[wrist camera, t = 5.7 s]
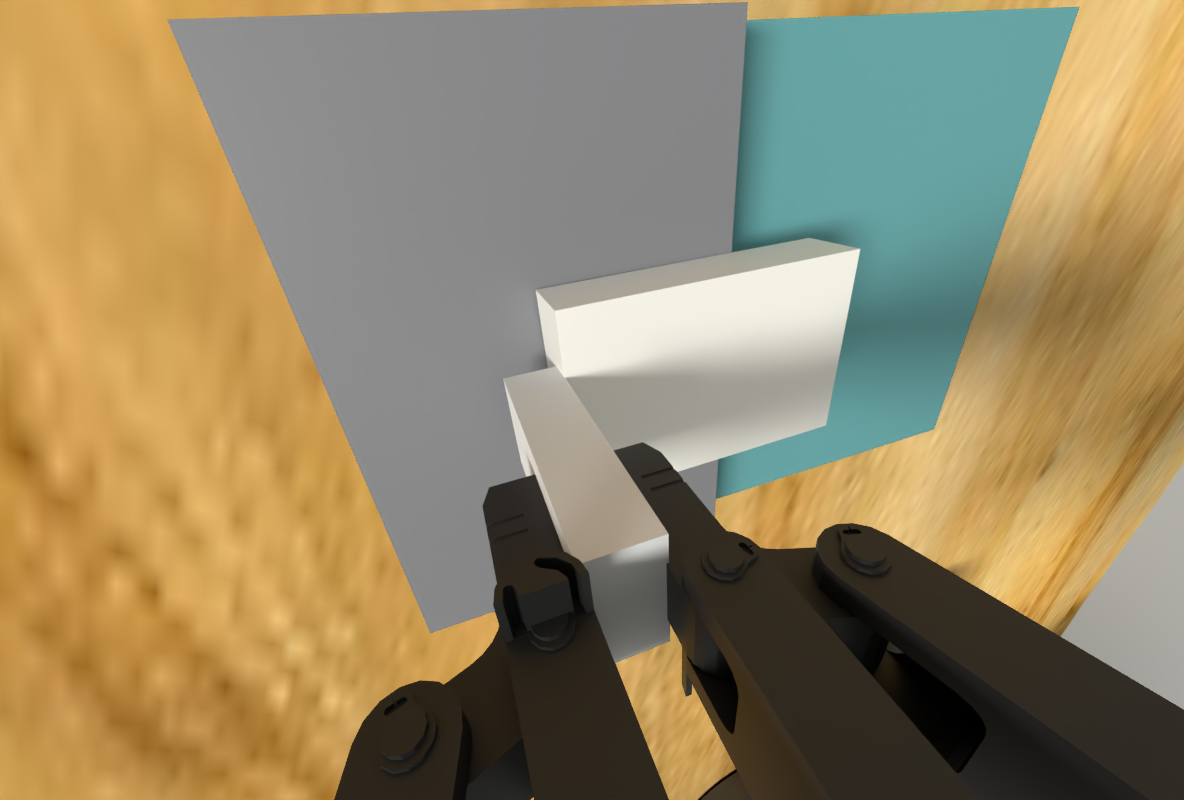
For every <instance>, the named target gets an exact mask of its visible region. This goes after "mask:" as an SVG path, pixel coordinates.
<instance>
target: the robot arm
mask: <svg viewBox="0 0 1184 800" xmlns="http://www.w3.org/2000/svg"><path fill="white" fill-rule="evenodd" d="M503 380H504V385H505V389H506V394H507V399H508V403H509V408H510V413H511V417H512V422H513V427H514V431H515V436H516V440H517V445H518V450H519V454H520V459H521V463H522V466H523V468H524V471H525V474H526V477H524V478H520V479H517V480H513V481H509V482H506V483H502V484H499V485H495V486H492V487H489V489H488V492H487V495H486V497H485V500H484V503H483V506H482V507H483V512H484V518H485V523H486V527H487V533H488V539H489V543H490V549H491V555H492V560H493V565H494V571H495V576H496V581H497V585H496V586H495V588H494V601H493V606H494V610H495V613H496V616H497V619H498V622H499V629H498V632H497V634H496V636H495V638H494V640H493V642H492V643H491V644H490V646H489V647H488V648H487V650H486V651H485V652H484V654H483V655H482V656H480V657H479V658H478V659H477V660H476V661H475V662H474V663H473V664H471V665H470V666H469V667H468V668H466V669H465V670H463V671H462V672H461V673H459V674H458V675H457V676H455V677H454V678H453V679H451V680H450V681H449V682H447V683H446V684H444V685H443V684H441V683H440V682H435V681H417V682H414V683H411V684H408V685H405V686H402V687H400V688H398V689H397V690H395V691H394V692H393V693H391V694H390V695H388V696H387V697H385V698H384V699H383V700H381V701H380V702H379V703H378V704H377V706H376V707H375V708H374V709H373V710H372V711H371V713H370V714H369V715H368V716H367V717H366V719H365V720H364V721H363V723H362V725H361V727H360V729H359V731H358V733H357V735H356V737H355V739H354V741H353V743H352V746H351V749H350V752H349V755H348V758H347V761H346V765H345V768H344V771H343V774H342V777H341V780H340V784H339V787H338V790H337V793H336V796H335V799H334V800H531V799H532V798H533V797H534V800H669V799H668V797H667V794H666V791H665V789H664V786H663V784H662V781H661V779H660V776H659V774H658V771H657V769H656V766H655V763H654V761H653V758H652V756H651V753H650V751H649V748H648V746H647V743H646V741H645V738H644V735H643V733H642V730H641V728H640V725H639V723H638V720H637V718H636V715H635V713H634V710H633V707H632V705H631V702H630V700H629V697H628V695H627V692H626V690H625V687H624V685H623V682H622V679H621V677H620V674H619V672H618V669H617V667H616V664H615V663H616V662H619V661H621V660H624V659H627V658H629V657H632V656H634V655H637V654H639V653H642V652H644V651H647V650H649V649H652V648H654V647H657V646H659V645H662V644H664V643H667V642H669V641H670V624H671V626H672V628H673V630H674V632H675V634H676V636H677V637H678V639H679V641H680V643H681V645H682V685H683V688H684V692H685V695H686V697H687V696H689V695H691V694H692V684H693V686H694V688H695V690H696V692H697V694H698V696H699V698H700V700H701V702H702V704H703V706H704V708H705V710H706V711H707V713H708V715H709V717H710V719H711V721H712V723H713V725H714V727H715V729H716V731H717V733H718V735H719V737H720V739H721V740H722V742H723V744H724V746H725V748H726V750H727V752H728V754H729V756H730V758H731V760H732V762H733V764H734V766H735V768H736V769H737V772H736V773H734V774H733V775H731V776H730V777H728V778H727V779H725V780H724V781H723V782H721V783H720V784H719V785H717V786H716V787H715V788H713V789H712V790H711V791H710V792H709V793H708V794H706V795H705V796H704V797H703V798H702V799H701V800H1184V710H1183V709H1182V708H1180V707H1178V706H1176V705H1175V704H1173V703H1171V702H1170V701H1168V700H1166V699H1165V698H1163V697H1161V696H1160V695H1158V694H1156V693H1154V692H1153V691H1151V690H1149V689H1148V688H1146V687H1144V686H1143V685H1141V684H1139V683H1138V682H1136V681H1134V680H1132V679H1131V678H1129V677H1128V676H1126V675H1124V674H1122V673H1121V672H1119V671H1117V670H1116V669H1114V668H1112V667H1111V666H1109V665H1107V664H1106V663H1104V662H1102V661H1100V660H1099V659H1097V658H1095V657H1094V656H1092V655H1090V654H1088V653H1087V652H1085V651H1083V650H1082V649H1080V648H1078V647H1077V646H1075V645H1073V644H1072V643H1070V642H1068V641H1066V640H1065V639H1063V638H1062V637H1060V636H1058V635H1056V634H1055V633H1053V632H1051V631H1050V630H1048V629H1046V628H1045V627H1043V626H1041V625H1040V624H1038V623H1036V622H1035V621H1033V620H1031V619H1029V618H1028V617H1026V616H1024V615H1023V614H1021V613H1019V612H1018V611H1016V610H1014V609H1013V608H1011V607H1009V606H1007V605H1006V604H1004V603H1002V602H1001V601H999V600H997V599H996V598H994V597H992V596H991V595H989V594H987V593H985V592H984V591H982V590H980V589H979V588H977V587H975V586H974V585H972V584H970V583H969V582H967V581H965V580H963V579H962V578H960V577H958V576H957V575H955V574H953V573H952V572H950V571H948V570H947V569H945V568H943V567H942V566H940V565H938V564H936V563H935V562H933V561H931V560H930V559H928V558H926V557H925V556H923V555H921V554H920V553H918V552H916V551H914V550H913V549H911V548H909V547H908V546H906V545H904V544H903V543H901V542H899V541H898V540H896V539H894V538H892V537H891V536H889V535H887V534H885V533H883V532H880V531H878V530H876V529H874V528H872V527H868V526H863V525H858V524H853V523H851V524H836V525H834V526H831V527H829V528H827V529H824V531H823V532H822V533H821V535H820V536H819V537H818V539H817V544H816V548H795V549H764V548H760V547H759V546H758V545H756V544H755V543H754V542H753V541H752V540H750V539H749V538H747V537H744V536H742V535H739V534H737V533H735V532H728V531H726V530H725V529H724V528H723V527H722V526H721V525H720V523H719V522H718V521H717V520H716V518H715V517H714V516H713V515H712V514H711V512H710V511H709V510H708V509H707V507H706V506H705V505H704V504H703V503H702V501H701V500H700V499H699V498H698V496H697V495H696V494H695V493H694V492H693V490H692V489H691V488H690V487H689V485H688V484H687V483H686V482H684V481H683V478H682V477H681V476H680V474H679V473H678V472H677V471H676V470H674V469H673V466H672V465H671V463H670V462H669V461H668V460H667V459H666V457H665V456H664V455H663V454H662V452H660V451H658V450H656V449H655V448H653V447H651V446H649V445H647V444H645V443H643V442H642V443H638V444H634V445H631V446H627V447H624V448H620V449H617V450H613V449H612V448H611V446H610V445H609V443H608V442H607V440H606V439H605V437H604V436H603V434H602V433H601V431H600V430H599V428H598V427H597V425H596V424H595V422H594V421H593V419H592V418H591V416H590V415H589V413H588V412H587V410H586V409H585V407H584V406H583V404H582V402H581V401H580V399H579V398H578V396H577V395H576V393H575V392H574V390H573V389H572V387H571V386H570V384H569V383H568V381H567V380H566V378H564V377H563V375H562V374H561V373H560V371H559V370H558V368H557V367H552V368H547V369H543V370H538V371H534V372H530V373H525V374H521V375H517V376H512V377H508V378H504V379H503Z"/></svg>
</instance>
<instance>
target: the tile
mask: <svg viewBox="0 0 1184 800" xmlns="http://www.w3.org/2000/svg"><path fill="white" fill-rule="evenodd" d="M859 253H860V249H859V248H855V247H850V246H845V245H841V244H836V243H831V242H827V241H822V240H817V239H813V238H806V239H800V240H795V241H790V242H785V243H779V244H774V245H769V246H763V247H758V248H753V249H748V250H742V251H737V252H732V253H727V254H721V255H716V256H711V257H706V258H700V259H695V260H690V261H684V262H679V263H674V264H669V265H663V266H658V267H653V268H648V269H642V270H637V271H632V272H627V273H621V274H616V275H611V276H605V277H600V278H595V279H590V280H584V281H579V282H574V283H569V284H563V285H558V286H553V287H547V288H542V289H537V290H536V296H537V302H538V308H539V315H540V321H541V327H542V334H543V340H544V346H545V353H546V359H547V365H548V368H552V367H557V368H558V370H559V371H560V373H561V374H562V375H563V377H564V378H566V380H567V381H568V383H569V384H570V386H571V387H572V389H573V390H574V392H575V393H576V395H577V396H578V398H579V399H580V401H581V402H582V404H583V406H584V407H585V409H586V410H587V412H588V413H589V415H590V416H591V418H592V419H593V421H594V422H595V424H596V425H597V427H598V428H599V430H600V431H601V433H602V434H603V436H604V437H605V439H606V440H607V442H608V443H609V445H610V446H611V448H612V449H613V450H617V449H620V448H624V447H627V446H631V445H634V444H638V443H642V442H643V443H645V444H647V445H649V446H651V447H653V448H655V449H656V450H658V451H660V452H662V454H663V455H664V456H665V457H666V459H667V460H668V461H669V462H670V463H671V465H672V466H673V469H674V470H676V471H677V472H679V471H682V470H685V469H688V468H692V467H695V466H698V465H701V464H704V463H708V462H711V461H714V460H717V459H720V458H724V457H727V456H730V455H733V454H736V453H740V452H743V451H746V450H749V449H752V448H756V447H759V446H762V445H765V444H768V443H772V442H775V441H778V440H781V439H784V438H788V437H791V436H794V435H797V434H800V433H804V432H807V431H810V430H813V429H817V428H820V427H823V426H826V423H827V418H828V413H829V407H830V402H831V397H832V392H833V387H834V382H835V377H836V371H837V366H838V361H839V356H840V351H841V346H842V341H843V336H844V330H845V325H846V320H847V315H848V310H849V305H850V300H851V294H852V289H853V284H854V279H855V274H856V269H857V264H858V259H859Z"/></svg>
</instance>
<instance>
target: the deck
mask: <svg viewBox="0 0 1184 800" xmlns="http://www.w3.org/2000/svg"><path fill="white" fill-rule="evenodd" d="M747 5H748V2H741V3H707V4H673V5H640V6H606V7H572V8H539V9H505V10H471V11H438V12H404V13H370V14H337V15H303V16H269V17H236V18H202V19H168V22H169V24H170V27H171V29H172V31H173V34H174V36H175V38H176V41H177V43H178V45H179V48H180V50H181V52H182V55H183V57H184V59H185V62H186V64H187V66H188V69H189V71H190V73H191V76H192V78H193V80H194V83H195V85H196V87H197V90H198V92H199V94H200V97H201V99H202V101H203V104H204V106H205V108H206V111H207V113H208V115H209V118H210V120H211V122H212V125H213V127H214V129H215V132H216V134H217V136H218V139H219V141H220V143H221V146H222V148H223V150H224V153H225V155H226V157H227V160H228V162H229V164H230V167H231V169H232V171H233V174H234V176H235V178H236V181H237V183H238V185H239V188H240V190H241V192H242V195H243V197H244V199H245V202H246V204H247V206H248V209H249V211H250V213H251V216H252V218H253V220H254V223H255V225H256V227H257V230H258V232H259V234H260V237H261V239H262V241H263V244H264V246H265V248H266V251H267V253H268V255H269V258H270V260H271V262H272V265H273V267H274V269H275V272H276V274H277V276H278V279H279V281H280V283H281V286H282V288H283V290H284V293H285V295H286V297H287V300H288V302H289V304H290V307H291V309H292V311H293V314H294V316H295V318H296V321H297V323H298V325H299V328H300V330H301V332H302V335H303V337H304V339H305V342H306V344H307V346H308V349H309V351H310V353H311V356H312V358H313V360H314V363H315V365H316V367H317V370H318V372H319V374H320V377H321V379H322V381H323V384H324V386H325V388H326V391H327V393H328V395H329V398H330V400H331V402H332V405H333V407H334V409H335V412H336V414H337V416H338V419H339V421H340V423H341V426H342V428H343V430H344V433H345V435H346V437H347V440H348V442H349V444H350V447H351V449H352V451H353V454H354V456H355V458H356V461H357V463H358V465H359V468H360V470H361V472H362V474H363V477H364V479H365V481H366V484H367V486H368V488H369V491H370V493H371V495H372V498H373V500H374V502H375V505H376V507H377V509H378V512H379V514H380V516H381V519H382V521H383V523H384V526H385V528H386V530H387V533H388V535H389V537H390V540H391V542H392V544H393V547H394V549H395V551H396V554H397V556H398V558H399V561H400V563H401V565H402V568H403V570H404V572H405V575H406V577H407V579H408V582H409V584H410V586H411V589H412V591H413V593H414V596H415V598H416V600H417V603H418V605H419V607H420V610H421V612H422V614H423V617H424V619H425V621H426V624H427V626H428V628H429V631H430V633H433V632H436V631H439V630H441V629H444V628H447V627H450V626H453V625H456V624H459V623H462V622H465V621H468V620H471V619H474V618H477V617H480V616H482V615H485V614H488V613H491V612H494V611H495V610H494V606H493V601H494V588H495V586H496V585H497V581H496V576H495V571H494V565H493V560H492V555H491V549H490V543H489V539H488V533H487V527H486V523H485V518H484V512H483V507H482V506H483V503H484V500H485V497H486V495H487V492H488V489H489V487H492V486H495V485H499V484H502V483H506V482H509V481H513V480H517V479H520V478H524V477H526V474H525V471H524V468H523V466H522V463H521V459H520V454H519V450H518V445H517V440H516V436H515V431H514V427H513V422H512V417H511V413H510V408H509V403H508V399H507V394H506V389H505V385H504V380H503V379H504V378H508V377H512V376H517V375H521V374H525V373H530V372H534V371H538V370H543V369H547V368H548V365H547V359H546V353H545V346H544V340H543V334H542V327H541V321H540V315H539V308H538V302H537V296H536V290H537V289H542V288H547V287H553V286H558V285H563V284H569V283H574V282H579V281H584V280H590V279H595V278H600V277H605V276H611V275H616V274H621V273H627V272H632V271H637V270H642V269H648V268H653V267H658V266H663V265H669V264H674V263H679V262H684V261H690V260H695V259H700V258H706V257H711V256H716V255H721V254H727V253H732V238H733V222H734V207H735V191H736V176H737V160H738V145H739V129H740V114H741V98H742V83H743V67H744V52H745V36H746V21H747ZM717 470H718V459H717V460H714V461H711V462H708V463H704V464H701V465H698V466H695V467H692V468H688V469H685V470H682V471H679V472H678V473H679V474H680V476H681V477H682V478H683V481H684V482H686V483H687V484H688V485H689V487H690V488H691V489H692V490H693V492H694V493H695V494H696V495H697V496H698V498H699V499H700V500H701V501H702V503H703V504H704V505H705V506H706V507H707V509H708V510H709V511H710V512H711V514H712V515H713V516H715V501H716V485H717Z"/></svg>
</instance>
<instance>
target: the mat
mask: <svg viewBox="0 0 1184 800" xmlns="http://www.w3.org/2000/svg"><path fill="white" fill-rule="evenodd" d="M1078 10H1079V7H1061V8H1037V9H1012V10H987V11H962V12H938V13H913V14H888V15H863V16H838V17H814V18H789V19H764V20H747V21H746V36H745V52H744V67H743V83H742V98H741V114H740V129H739V145H738V160H737V176H736V191H735V207H734V222H733V238H732V252H737V251H742V250H748V249H753V248H758V247H763V246H769V245H774V244H779V243H785V242H790V241H795V240H800V239H806V238H813V239H817V240H822V241H827V242H831V243H836V244H841V245H845V246H850V247H855V248H859V249H860V253H859V259H858V264H857V269H856V274H855V279H854V284H853V289H852V294H851V300H850V305H849V310H848V315H847V320H846V325H845V330H844V336H843V341H842V346H841V351H840V356H839V361H838V366H837V371H836V377H835V382H834V387H833V392H832V397H831V402H830V407H829V413H828V418H827V423H826V426H823V427H820V428H817V429H813V430H810V431H807V432H804V433H800V434H797V435H794V436H791V437H788V438H784V439H781V440H778V441H775V442H772V443H768V444H765V445H762V446H759V447H756V448H752V449H749V450H746V451H743V452H740V453H736V454H733V455H730V456H727V457H724V458H720V459H718V470H717V485H716V499H717V498H720V497H723V496H727V495H730V494H733V493H736V492H739V491H742V490H745V489H748V488H752V487H755V486H758V485H761V484H764V483H767V482H770V481H773V480H777V479H780V478H783V477H786V476H789V475H792V474H795V473H798V472H802V471H805V470H808V469H811V468H814V467H817V466H820V465H823V464H827V463H830V462H833V461H836V460H839V459H842V458H845V457H848V456H852V455H855V454H858V453H861V452H864V451H867V450H870V449H873V448H877V447H880V446H883V445H886V444H889V443H892V442H895V441H898V440H902V439H905V438H908V437H911V436H914V435H917V434H920V433H923V432H927V431H930V430H933V429H934V428H935V425H936V422H937V419H938V416H939V413H940V410H941V407H942V405H943V402H944V399H945V396H946V393H947V390H948V387H949V384H950V381H951V378H952V376H953V373H954V370H955V367H956V364H957V361H958V358H959V355H960V352H961V349H962V347H963V344H964V341H965V338H966V335H967V332H968V329H969V326H970V323H971V320H972V318H973V315H974V312H975V309H976V306H977V303H978V300H979V297H980V294H981V291H982V288H983V286H984V283H985V280H986V277H987V274H988V271H989V268H990V265H991V262H992V259H993V257H994V254H995V251H996V248H997V245H998V242H999V239H1000V236H1001V233H1002V230H1003V228H1004V225H1005V222H1006V219H1007V216H1008V213H1009V210H1010V207H1011V204H1012V201H1013V199H1014V196H1015V193H1016V190H1017V187H1018V184H1019V181H1020V178H1021V175H1022V172H1023V169H1024V167H1025V164H1026V161H1027V158H1028V155H1029V152H1030V149H1031V146H1032V143H1033V140H1034V138H1035V135H1036V132H1037V129H1038V126H1039V123H1040V120H1041V117H1042V114H1043V111H1044V109H1045V106H1046V103H1047V100H1048V97H1049V94H1050V91H1051V88H1052V85H1053V82H1054V80H1055V77H1056V74H1057V71H1058V68H1059V65H1060V62H1061V59H1062V56H1063V53H1064V50H1065V48H1066V45H1067V42H1068V39H1069V36H1070V33H1071V30H1072V27H1073V24H1074V21H1075V19H1076V16H1077V13H1078Z"/></svg>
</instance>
